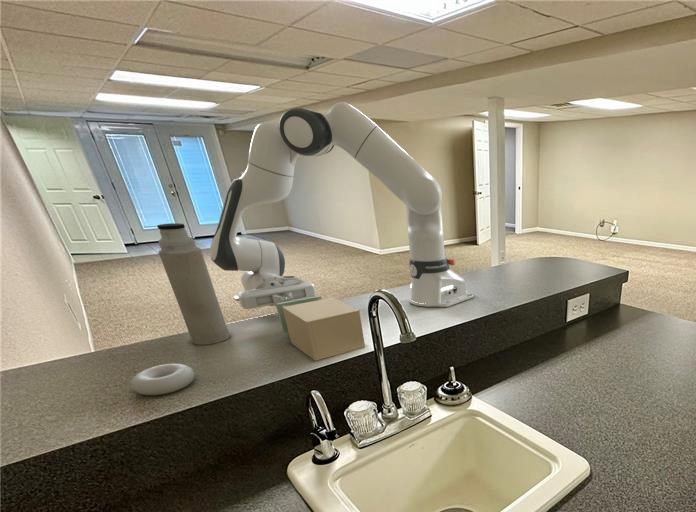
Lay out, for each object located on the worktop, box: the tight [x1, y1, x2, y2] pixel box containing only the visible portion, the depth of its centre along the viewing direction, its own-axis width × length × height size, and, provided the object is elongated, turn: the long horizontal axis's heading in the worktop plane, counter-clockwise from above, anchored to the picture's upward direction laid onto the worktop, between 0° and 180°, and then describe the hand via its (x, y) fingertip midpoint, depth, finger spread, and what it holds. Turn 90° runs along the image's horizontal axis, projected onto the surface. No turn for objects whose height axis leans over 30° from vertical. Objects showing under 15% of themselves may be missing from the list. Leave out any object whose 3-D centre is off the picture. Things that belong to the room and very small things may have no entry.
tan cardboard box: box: [282, 297, 366, 362], centre depth 101 cm, size 15×13×10 cm
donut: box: [130, 363, 195, 396], centre depth 82 cm, size 10×3×10 cm
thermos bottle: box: [156, 222, 230, 346], centre depth 98 cm, size 8×8×28 cm
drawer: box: [275, 295, 323, 334], centre depth 107 cm, size 18×11×8 cm, turn 46°
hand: (288, 300), depth 114 cm, fingers closed
